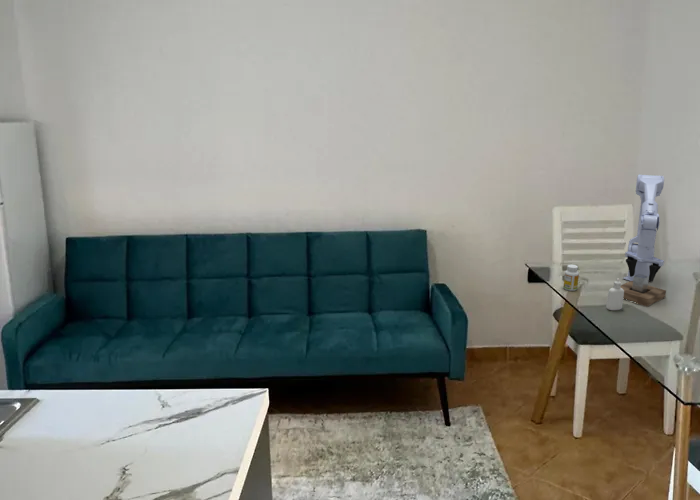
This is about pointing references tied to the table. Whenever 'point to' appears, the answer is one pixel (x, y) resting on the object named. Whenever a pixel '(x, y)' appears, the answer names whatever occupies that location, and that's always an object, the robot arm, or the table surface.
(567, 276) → the supplement bottle
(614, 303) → the eye dropper bottle
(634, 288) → the peg
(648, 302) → the socket block
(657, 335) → the table surface
